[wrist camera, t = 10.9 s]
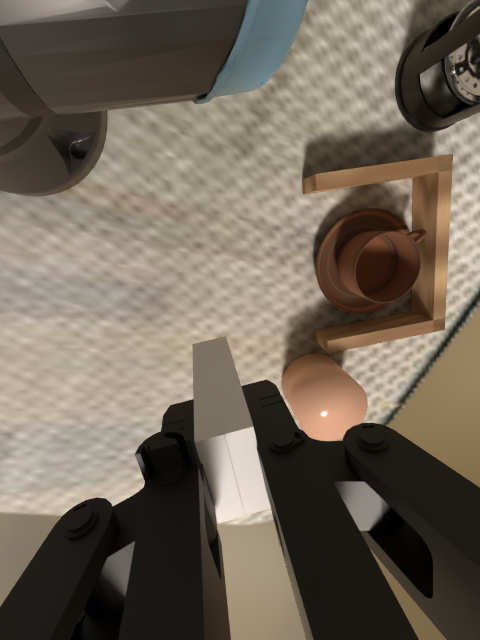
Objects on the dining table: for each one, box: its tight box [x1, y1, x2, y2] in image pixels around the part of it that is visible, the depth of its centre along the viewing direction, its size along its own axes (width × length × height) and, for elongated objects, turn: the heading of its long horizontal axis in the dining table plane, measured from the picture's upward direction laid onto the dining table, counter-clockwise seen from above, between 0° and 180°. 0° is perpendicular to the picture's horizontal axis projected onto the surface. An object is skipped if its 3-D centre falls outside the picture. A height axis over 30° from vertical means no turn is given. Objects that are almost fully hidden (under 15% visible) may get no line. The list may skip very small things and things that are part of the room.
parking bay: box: [302, 154, 453, 353], centre depth 36 cm, size 19×14×4 cm
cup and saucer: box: [316, 208, 427, 314], centre depth 36 cm, size 12×12×6 cm
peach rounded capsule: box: [282, 353, 367, 441], centre depth 39 cm, size 8×8×7 cm
